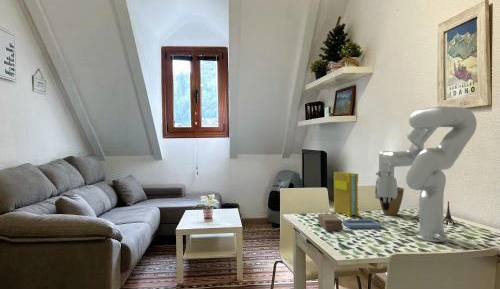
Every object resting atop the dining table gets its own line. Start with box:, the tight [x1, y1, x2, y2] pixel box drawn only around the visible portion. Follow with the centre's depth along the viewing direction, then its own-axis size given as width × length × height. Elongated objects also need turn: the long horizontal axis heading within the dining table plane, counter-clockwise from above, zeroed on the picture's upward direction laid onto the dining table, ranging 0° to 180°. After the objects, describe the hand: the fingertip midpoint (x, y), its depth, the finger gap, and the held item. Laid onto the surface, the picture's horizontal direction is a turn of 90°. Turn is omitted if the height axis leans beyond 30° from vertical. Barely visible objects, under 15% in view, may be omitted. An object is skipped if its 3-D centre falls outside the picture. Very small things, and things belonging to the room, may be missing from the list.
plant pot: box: [378, 186, 405, 217], centre depth 202 cm, size 15×15×16 cm
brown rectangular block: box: [317, 213, 343, 232], centre depth 173 cm, size 16×8×5 cm, turn 2°
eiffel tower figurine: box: [444, 200, 457, 226], centre depth 177 cm, size 15×10×13 cm
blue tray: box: [342, 219, 382, 230], centre depth 173 cm, size 11×16×2 cm
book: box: [333, 171, 359, 217], centre depth 204 cm, size 17×7×25 cm, turn 22°
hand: (385, 209), depth 174 cm, fingers closed
